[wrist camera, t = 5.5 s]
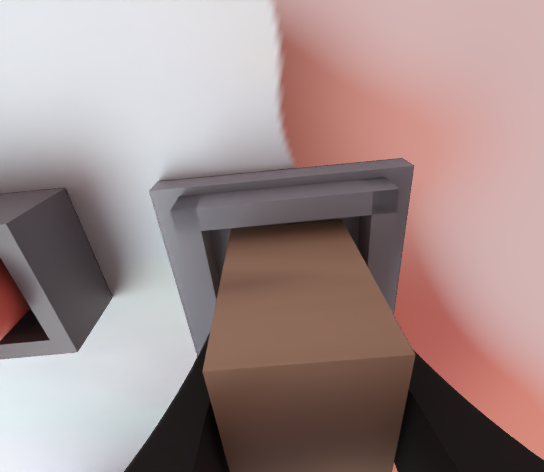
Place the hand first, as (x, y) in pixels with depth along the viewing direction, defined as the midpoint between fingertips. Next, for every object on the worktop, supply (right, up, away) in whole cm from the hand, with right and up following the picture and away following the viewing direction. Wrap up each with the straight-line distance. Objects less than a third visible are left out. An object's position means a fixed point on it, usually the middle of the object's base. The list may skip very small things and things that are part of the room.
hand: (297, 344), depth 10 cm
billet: (0, +1, +2) cm, 3 cm away
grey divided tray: (0, -2, +5) cm, 6 cm away
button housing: (-11, +3, +2) cm, 11 cm away
